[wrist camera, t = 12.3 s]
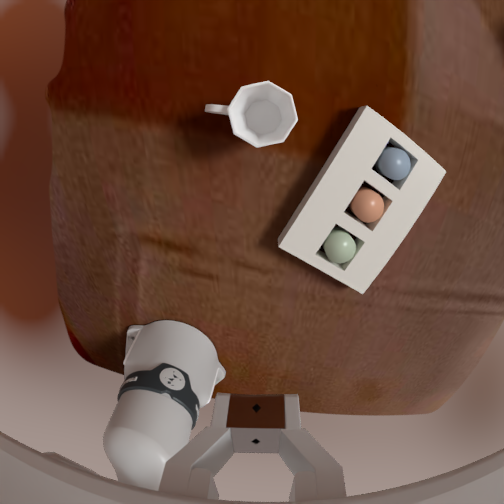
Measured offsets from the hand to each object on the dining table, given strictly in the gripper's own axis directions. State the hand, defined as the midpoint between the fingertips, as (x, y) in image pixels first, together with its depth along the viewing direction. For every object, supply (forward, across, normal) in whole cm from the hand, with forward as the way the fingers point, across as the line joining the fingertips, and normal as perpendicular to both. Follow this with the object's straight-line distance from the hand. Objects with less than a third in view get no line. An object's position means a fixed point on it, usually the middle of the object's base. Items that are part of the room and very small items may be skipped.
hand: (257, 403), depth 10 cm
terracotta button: (+31, -13, 0) cm, 33 cm away
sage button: (+31, -10, +5) cm, 33 cm away
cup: (+31, +2, -11) cm, 33 cm away
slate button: (+31, -16, -6) cm, 35 cm away
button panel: (+31, -13, 0) cm, 34 cm away
